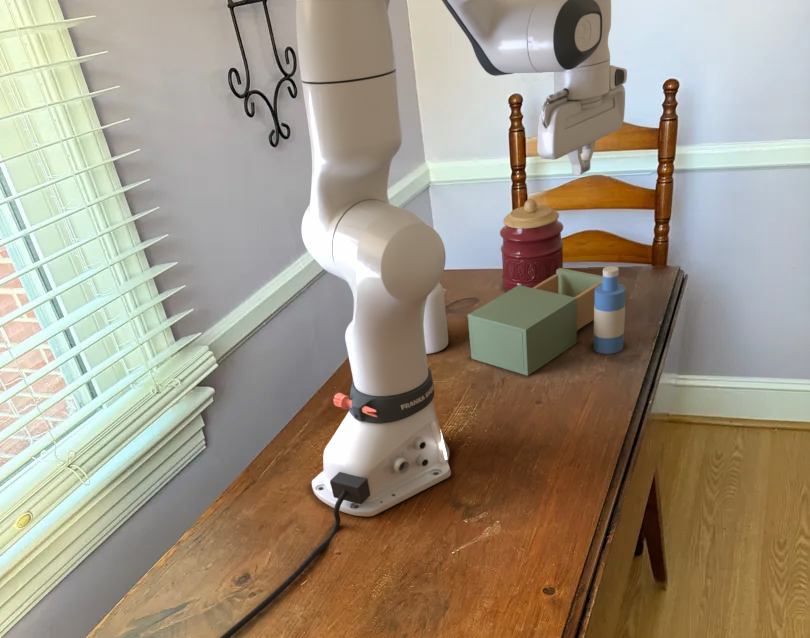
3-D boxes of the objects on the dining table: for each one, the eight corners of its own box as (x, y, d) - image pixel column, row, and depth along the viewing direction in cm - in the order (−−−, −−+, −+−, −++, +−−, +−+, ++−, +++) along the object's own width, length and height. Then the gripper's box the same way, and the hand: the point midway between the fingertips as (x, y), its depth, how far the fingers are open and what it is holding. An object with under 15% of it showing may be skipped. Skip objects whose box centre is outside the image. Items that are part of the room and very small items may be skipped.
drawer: (572, 293, 161) (572, 260, 156) (623, 304, 153) (624, 270, 149) (518, 327, 152) (516, 292, 148) (569, 340, 145) (569, 304, 141)
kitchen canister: (521, 270, 176) (517, 188, 165) (574, 276, 170) (574, 191, 159) (491, 293, 169) (486, 208, 158) (546, 300, 162) (544, 212, 151)
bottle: (612, 356, 140) (615, 277, 131) (587, 349, 143) (588, 271, 134) (629, 344, 142) (633, 265, 133) (604, 338, 146) (606, 261, 136)
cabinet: (520, 328, 154) (518, 284, 148) (576, 342, 146) (577, 297, 140) (471, 358, 146) (467, 314, 141) (527, 375, 138) (525, 329, 133)
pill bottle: (456, 339, 154) (448, 263, 144) (436, 357, 149) (426, 280, 139) (422, 334, 157) (412, 260, 148) (400, 352, 152) (389, 277, 143)
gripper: (559, 98, 120) (560, 192, 129) (633, 68, 130) (629, 157, 139) (526, 97, 124) (529, 189, 133) (600, 68, 134) (599, 155, 143)
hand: (581, 172), depth 136 cm, fingers closed
